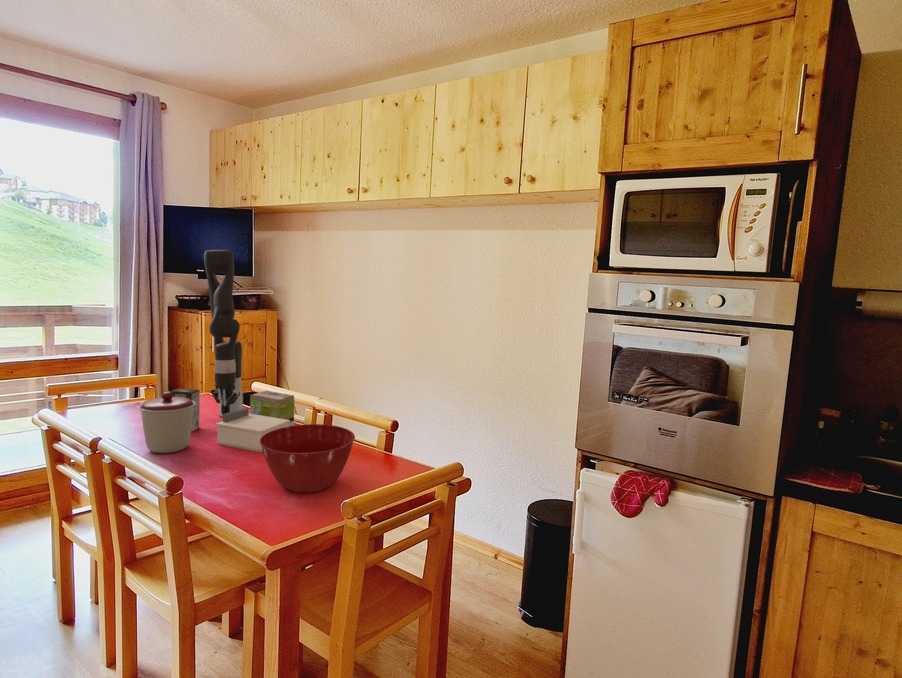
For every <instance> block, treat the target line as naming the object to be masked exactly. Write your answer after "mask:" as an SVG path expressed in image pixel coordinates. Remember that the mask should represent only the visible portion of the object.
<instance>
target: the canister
mask: <svg viewBox="0 0 902 678" xmlns="http://www.w3.org/2000/svg"><path fill="white" fill-rule="evenodd" d="M195 404H196V403H195V402H194V401H192V400H190V399H188V398H184V397H173V394H172V393H171V391H164V392H162V394H161V397H155V398H151V399H148V400H145V401H144V402H142V403H141V404H139V405H138V410H140V414H141V420H142V421H141V422H142V427H143V428H142V429H143V434H144V439H145V444H146V447H147V449H148V450H149V451H150V452H152V453H155V454H170V453H177V452H179V451H182V450H185V449H186V448H187V447H188V446H189V444H190V440H191V439H190V438H191V434H192V432H191V426H192V417H193V407H194V406H195Z"/></svg>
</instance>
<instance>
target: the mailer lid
mask: <svg viewBox="0 0 902 678" xmlns="http://www.w3.org/2000/svg"><path fill="white" fill-rule="evenodd" d="M289 422H290V420H286V419H280V418H274V417H268V416H261V415H255V414H250V412H249V407H243V408H242V409H238V410H235V411H232V412H229V413H226V414H223V417H222V421H219V422H216V423H215V425H216V427H217V426H222V427H228V428H234V429H239V430H245V431H251V432H256V433H263V432H266V431H268V430H271V429H274V428H276V427H279V426H281V425H284V424H286V423H289Z"/></svg>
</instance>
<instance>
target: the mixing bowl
mask: <svg viewBox="0 0 902 678" xmlns="http://www.w3.org/2000/svg"><path fill="white" fill-rule="evenodd" d="M355 438H356V436H355V433H354V432H353V431H351V430H349V429H347V428H344V427H342V426H337V425H331V424H321V423H319V424H318V423H317V424H316V423H315V424H311V423H309V424H307V423H306V424H296V425H295V424H294V426H289V427H284V428H280V429H276V430H273V431H270V432H268V433H266V434H265V435H263V436H262V437H261V438H260V444H261V445H262V449H263V452H262V453H263V456H264V459H265V461H266V463H267V466H268V468H269V470H270V472H271V474H272V476H273V477H274V479H275V480H276V482H277V483H278V484H279V485H280V486H281V487H283V488H285V489H287V490H289V491H291V492H293V491H294V493H300V494H308V493H310V494H311V493H316V492H320V491H323V490H325V489H327V488H328V487H330V486H331V485H333V484H334V483H335V482H336V481H337V480H338V479H339V477H340V476H341V474H342V472H344V471H343V470H344V468H345V467H346V465H347V462H348V460H349V457H350V454H351V450H352V448H353V445H354V444H353V443H354V441H355Z"/></svg>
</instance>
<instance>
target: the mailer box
mask: <svg viewBox="0 0 902 678" xmlns="http://www.w3.org/2000/svg"><path fill="white" fill-rule="evenodd" d="M216 427H217V428H216V429H217V430H216V431H217V433H216V435H217V438H216V439H217V443H216V444H217V445H219V446H225V447H231V448H234V449H241V450H246V451H250V452H255V453H256V452H257V453H264V452H263V449H262V445H261V444H260V438H261V437H262V436H263V435H265V434H266V433H268V432H270V431H273V430H276V429H280V428H284V427H289V423H286V424H284V425H281V426H279V427H276V428H274V429H271V430H268V431H266V432H263V433H256V432H251V431H245V430H239V429H234V428H228V427H222V426H217V425H216Z"/></svg>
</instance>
